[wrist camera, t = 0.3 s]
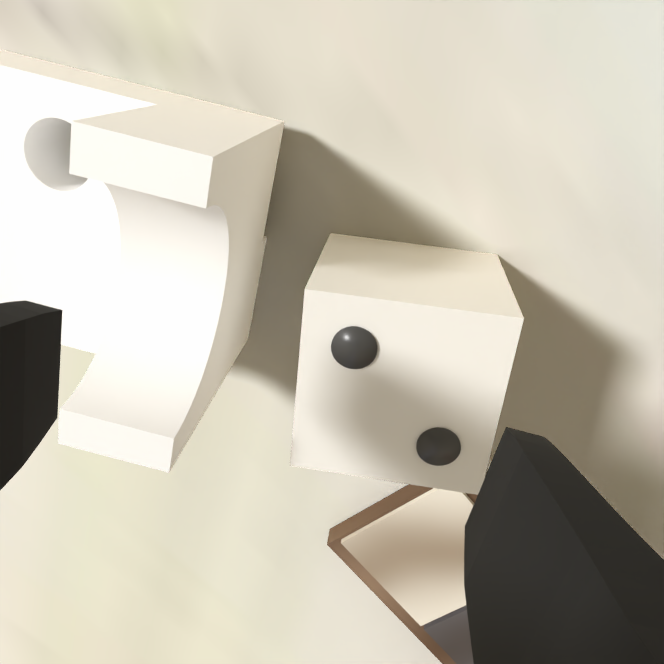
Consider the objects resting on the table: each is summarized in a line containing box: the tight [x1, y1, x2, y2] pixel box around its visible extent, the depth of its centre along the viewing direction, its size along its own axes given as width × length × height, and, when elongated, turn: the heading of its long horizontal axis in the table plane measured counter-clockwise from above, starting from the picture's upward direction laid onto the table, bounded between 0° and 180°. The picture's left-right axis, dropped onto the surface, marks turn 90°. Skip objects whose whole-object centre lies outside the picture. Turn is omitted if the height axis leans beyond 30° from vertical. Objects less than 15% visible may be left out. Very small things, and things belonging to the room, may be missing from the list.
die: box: [290, 233, 524, 495], centre depth 17 cm, size 5×5×5 cm
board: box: [327, 478, 485, 664], centre depth 24 cm, size 15×6×1 cm, turn 39°
